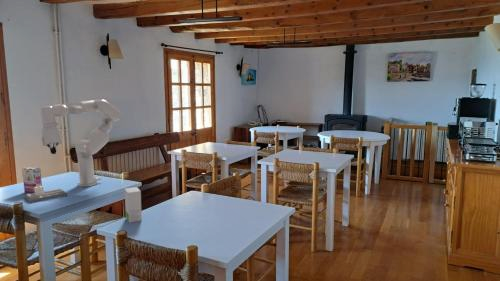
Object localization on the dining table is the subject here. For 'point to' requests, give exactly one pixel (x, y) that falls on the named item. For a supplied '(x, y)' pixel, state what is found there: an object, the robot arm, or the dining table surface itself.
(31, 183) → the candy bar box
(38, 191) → the fader knob
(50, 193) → the console
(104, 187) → the dining table surface
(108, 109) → the robot arm
